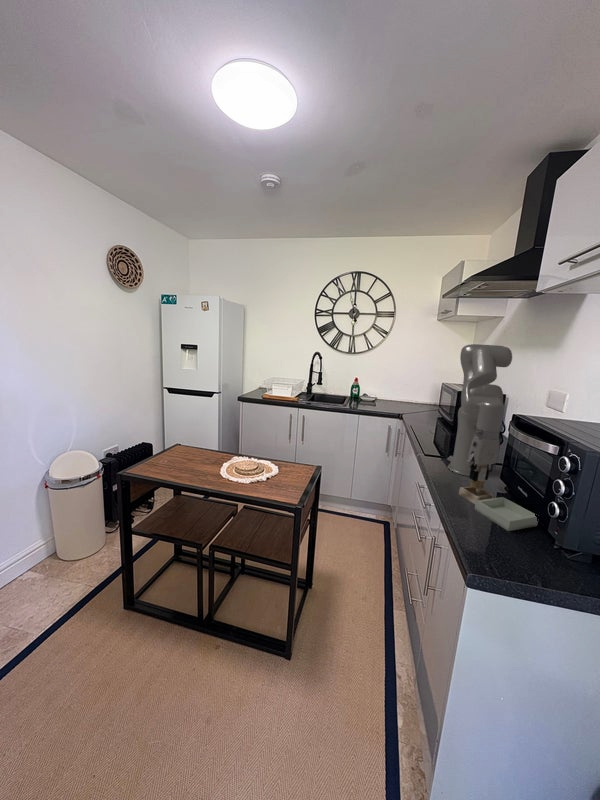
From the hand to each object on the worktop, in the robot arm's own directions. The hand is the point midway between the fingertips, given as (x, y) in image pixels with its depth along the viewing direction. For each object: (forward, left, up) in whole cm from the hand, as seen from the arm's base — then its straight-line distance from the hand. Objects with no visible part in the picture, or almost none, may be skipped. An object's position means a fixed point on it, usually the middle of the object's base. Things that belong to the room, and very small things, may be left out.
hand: (478, 478), depth 119 cm
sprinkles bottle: (0, 0, -4) cm, 4 cm away
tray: (+14, -1, -8) cm, 16 cm away
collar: (+1, 0, -8) cm, 8 cm away
